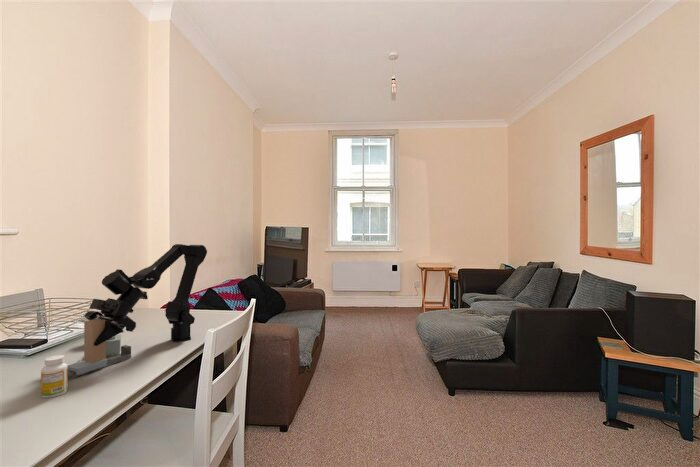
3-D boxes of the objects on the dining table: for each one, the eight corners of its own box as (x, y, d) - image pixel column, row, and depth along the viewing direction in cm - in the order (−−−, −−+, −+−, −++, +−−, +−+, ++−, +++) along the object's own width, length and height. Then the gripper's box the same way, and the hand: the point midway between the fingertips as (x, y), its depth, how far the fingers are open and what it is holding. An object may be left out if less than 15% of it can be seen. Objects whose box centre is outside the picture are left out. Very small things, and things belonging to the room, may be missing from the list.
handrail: (125, 356, 118) (125, 345, 118) (131, 357, 117) (131, 346, 117) (47, 382, 97) (47, 369, 97) (53, 384, 96) (53, 370, 96)
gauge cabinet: (120, 348, 126) (120, 334, 126) (119, 353, 121) (119, 339, 121) (97, 351, 123) (97, 337, 123) (95, 357, 117) (95, 343, 117)
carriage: (96, 362, 111) (96, 318, 110) (107, 365, 108) (107, 320, 108) (66, 372, 103) (66, 324, 103) (77, 375, 101) (77, 326, 101)
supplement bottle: (51, 389, 93) (51, 354, 93) (72, 388, 94) (72, 353, 94) (35, 398, 88) (35, 361, 88) (57, 398, 88) (57, 361, 88)
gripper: (90, 286, 115) (51, 327, 105) (127, 290, 108) (89, 334, 97) (114, 305, 122) (79, 345, 112) (150, 310, 115) (117, 353, 105)
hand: (90, 344), depth 106 cm, fingers closed on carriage, 4 cm apart
